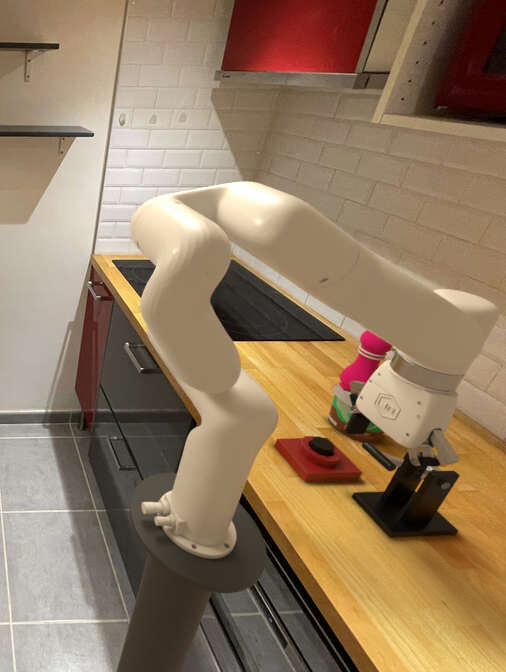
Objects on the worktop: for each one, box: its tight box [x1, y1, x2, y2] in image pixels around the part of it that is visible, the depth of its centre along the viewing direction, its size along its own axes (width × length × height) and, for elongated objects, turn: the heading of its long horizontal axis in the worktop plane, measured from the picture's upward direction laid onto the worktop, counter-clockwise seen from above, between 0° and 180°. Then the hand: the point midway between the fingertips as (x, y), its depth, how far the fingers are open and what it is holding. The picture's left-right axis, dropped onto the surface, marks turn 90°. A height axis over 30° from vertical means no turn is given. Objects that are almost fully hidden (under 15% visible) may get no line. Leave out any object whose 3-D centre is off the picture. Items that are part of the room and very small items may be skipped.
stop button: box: [310, 436, 335, 456], centre depth 89 cm, size 4×4×2 cm
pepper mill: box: [338, 330, 392, 390], centre depth 106 cm, size 7×7×20 cm
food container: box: [327, 383, 385, 444], centre depth 96 cm, size 12×6×10 cm, turn 65°
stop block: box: [274, 435, 363, 483], centre depth 90 cm, size 11×9×4 cm
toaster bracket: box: [351, 451, 461, 538], centre depth 77 cm, size 12×8×13 cm, turn 92°
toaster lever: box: [361, 441, 443, 481], centre depth 75 cm, size 13×5×2 cm, turn 93°
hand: (377, 454), depth 73 cm, fingers open, 9 cm apart
